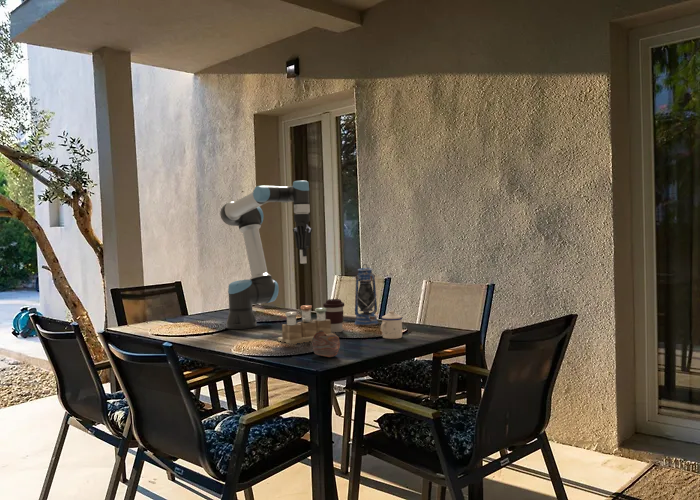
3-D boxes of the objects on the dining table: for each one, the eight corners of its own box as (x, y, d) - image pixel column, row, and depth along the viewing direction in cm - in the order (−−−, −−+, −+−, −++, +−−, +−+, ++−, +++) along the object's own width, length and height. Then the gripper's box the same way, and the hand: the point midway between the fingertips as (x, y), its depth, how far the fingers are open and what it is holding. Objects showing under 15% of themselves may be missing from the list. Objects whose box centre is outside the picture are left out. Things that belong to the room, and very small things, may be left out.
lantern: (368, 320, 315) (366, 263, 314) (385, 322, 306) (384, 263, 305) (347, 324, 304) (345, 264, 303) (364, 326, 295) (362, 265, 294)
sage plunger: (313, 331, 273) (313, 308, 272) (322, 329, 276) (322, 307, 275) (320, 332, 269) (319, 309, 268) (329, 330, 272) (328, 308, 272)
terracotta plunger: (299, 329, 268) (298, 306, 267) (308, 327, 271) (307, 304, 270) (305, 330, 264) (304, 307, 263) (314, 328, 267) (314, 305, 266)
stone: (310, 356, 232) (309, 330, 232) (324, 352, 239) (323, 327, 238) (335, 360, 224) (334, 333, 224) (349, 355, 231) (348, 329, 230)
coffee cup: (342, 333, 279) (341, 301, 278) (321, 333, 281) (320, 301, 280) (347, 329, 289) (346, 298, 288) (326, 329, 291) (325, 298, 290)
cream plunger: (283, 335, 263) (283, 312, 262) (293, 334, 266) (292, 311, 265) (290, 337, 259) (289, 313, 258) (299, 335, 262) (299, 312, 262)
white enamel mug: (390, 334, 273) (390, 308, 272) (406, 336, 266) (406, 310, 266) (373, 338, 264) (372, 312, 263) (389, 341, 258) (389, 313, 257)
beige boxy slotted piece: (277, 340, 265) (277, 323, 265) (320, 333, 279) (319, 317, 279) (293, 344, 256) (292, 327, 255) (335, 337, 270) (335, 320, 270)
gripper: (287, 214, 288) (289, 263, 289) (303, 213, 278) (304, 264, 279) (300, 213, 293) (302, 262, 294) (316, 213, 283) (317, 263, 284)
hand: (303, 263), depth 286 cm, fingers closed
